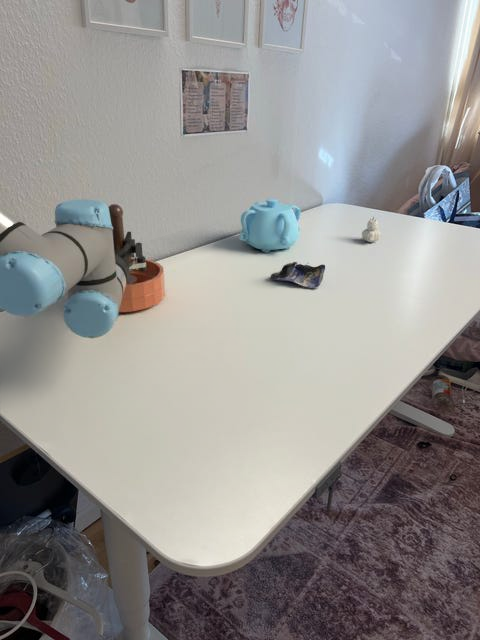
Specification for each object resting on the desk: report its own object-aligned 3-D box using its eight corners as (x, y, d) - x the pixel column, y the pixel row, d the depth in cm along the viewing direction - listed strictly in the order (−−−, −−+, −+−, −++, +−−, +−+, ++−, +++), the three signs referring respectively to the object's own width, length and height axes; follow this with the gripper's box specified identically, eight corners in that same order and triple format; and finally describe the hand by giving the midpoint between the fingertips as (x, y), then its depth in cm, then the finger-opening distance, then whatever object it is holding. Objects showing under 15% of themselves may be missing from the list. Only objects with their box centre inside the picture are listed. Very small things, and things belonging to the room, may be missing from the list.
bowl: (75, 312, 99) (70, 283, 96) (104, 281, 114) (101, 255, 111) (153, 318, 98) (151, 289, 95) (172, 286, 112) (171, 260, 109)
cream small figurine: (379, 240, 147) (383, 214, 144) (378, 246, 142) (382, 219, 138) (361, 238, 149) (365, 212, 145) (359, 244, 143) (363, 218, 140)
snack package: (285, 295, 110) (330, 287, 113) (284, 267, 108) (330, 260, 111) (265, 283, 120) (306, 277, 124) (264, 258, 118) (306, 252, 122)
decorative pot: (286, 259, 131) (289, 209, 124) (232, 249, 136) (233, 201, 130) (304, 242, 144) (308, 197, 138) (255, 234, 150) (257, 190, 143)
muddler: (102, 290, 100) (92, 207, 92) (112, 279, 106) (104, 199, 98) (131, 293, 100) (124, 209, 92) (141, 281, 105) (134, 201, 97)
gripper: (60, 299, 84) (86, 254, 105) (152, 298, 85) (159, 253, 106) (54, 259, 80) (81, 220, 101) (149, 258, 82) (157, 220, 103)
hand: (121, 237), depth 104 cm, fingers closed on muddler, 3 cm apart
